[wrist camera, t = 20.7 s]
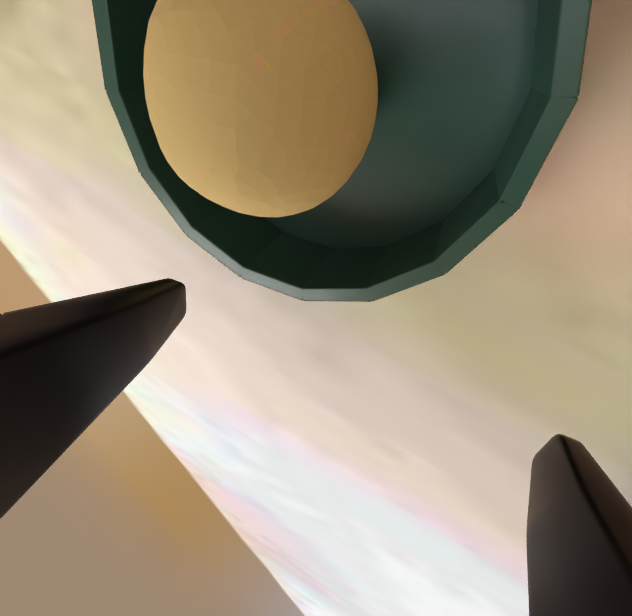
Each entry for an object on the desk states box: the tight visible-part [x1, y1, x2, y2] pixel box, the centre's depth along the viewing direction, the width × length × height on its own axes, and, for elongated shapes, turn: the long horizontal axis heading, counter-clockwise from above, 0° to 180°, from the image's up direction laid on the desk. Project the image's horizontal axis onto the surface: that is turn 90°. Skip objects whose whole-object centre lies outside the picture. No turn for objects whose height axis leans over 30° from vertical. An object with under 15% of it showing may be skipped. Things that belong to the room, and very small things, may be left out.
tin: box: [92, 0, 592, 302], centre depth 14 cm, size 16×16×5 cm
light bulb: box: [143, 0, 378, 217], centre depth 12 cm, size 6×6×10 cm
